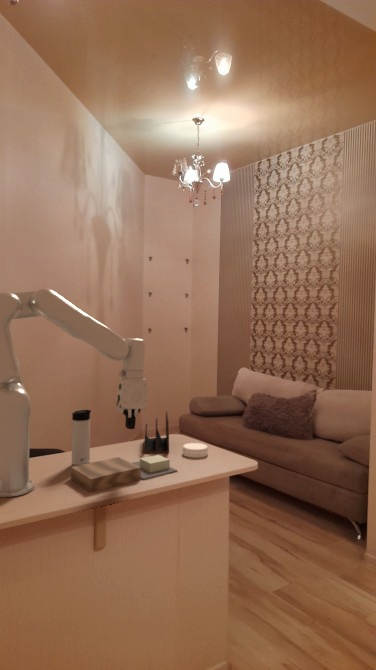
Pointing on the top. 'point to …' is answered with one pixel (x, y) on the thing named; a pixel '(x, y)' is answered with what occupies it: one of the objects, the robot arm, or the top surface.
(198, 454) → the white short cylinder
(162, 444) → the letter holder
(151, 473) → the mat
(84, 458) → the travel mug
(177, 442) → the top surface
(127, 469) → the riser
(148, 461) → the tile
